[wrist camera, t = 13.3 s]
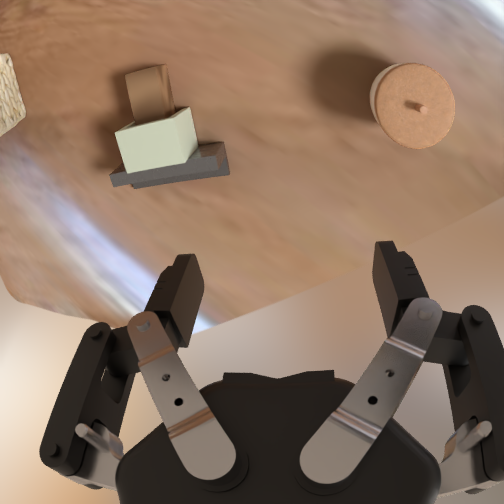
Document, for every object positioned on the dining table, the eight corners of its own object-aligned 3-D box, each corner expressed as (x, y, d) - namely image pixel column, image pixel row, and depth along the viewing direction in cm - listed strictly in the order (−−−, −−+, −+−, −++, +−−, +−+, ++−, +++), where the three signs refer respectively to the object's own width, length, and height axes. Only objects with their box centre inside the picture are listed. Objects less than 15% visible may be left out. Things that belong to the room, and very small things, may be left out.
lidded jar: (346, 79, 35) (362, 87, 28) (410, 48, 31) (440, 51, 24) (382, 144, 40) (403, 168, 33) (440, 114, 36) (472, 133, 28)
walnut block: (138, 71, 37) (124, 74, 33) (167, 64, 36) (155, 66, 33) (154, 146, 44) (143, 155, 40) (182, 141, 43) (172, 151, 40)
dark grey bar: (126, 159, 45) (109, 174, 40) (223, 141, 43) (215, 155, 38) (135, 187, 48) (119, 205, 43) (230, 173, 45) (223, 190, 41)
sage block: (136, 119, 41) (114, 132, 35) (189, 107, 40) (173, 117, 34) (146, 155, 44) (127, 173, 39) (198, 146, 43) (184, 162, 37)
